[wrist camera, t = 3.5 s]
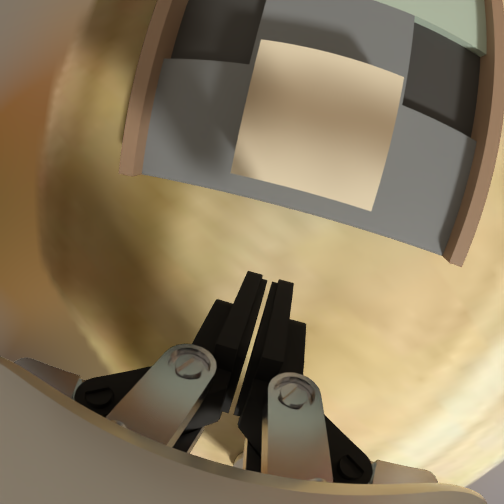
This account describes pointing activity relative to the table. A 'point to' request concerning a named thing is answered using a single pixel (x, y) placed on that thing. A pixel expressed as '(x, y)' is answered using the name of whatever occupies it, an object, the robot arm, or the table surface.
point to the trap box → (348, 45)
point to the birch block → (317, 123)
